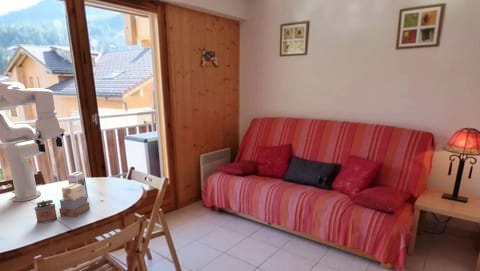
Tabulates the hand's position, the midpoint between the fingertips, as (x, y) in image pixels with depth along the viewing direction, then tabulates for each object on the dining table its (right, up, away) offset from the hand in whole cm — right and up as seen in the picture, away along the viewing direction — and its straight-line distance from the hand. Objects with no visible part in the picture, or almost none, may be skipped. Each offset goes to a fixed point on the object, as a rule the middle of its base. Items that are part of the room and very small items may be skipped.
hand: (51, 149), depth 141 cm
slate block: (+13, -28, -3) cm, 31 cm away
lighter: (+5, -33, -9) cm, 35 cm away
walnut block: (+13, -32, -2) cm, 34 cm away
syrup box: (+6, -28, +14) cm, 32 cm away
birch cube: (+13, -24, -3) cm, 27 cm away
